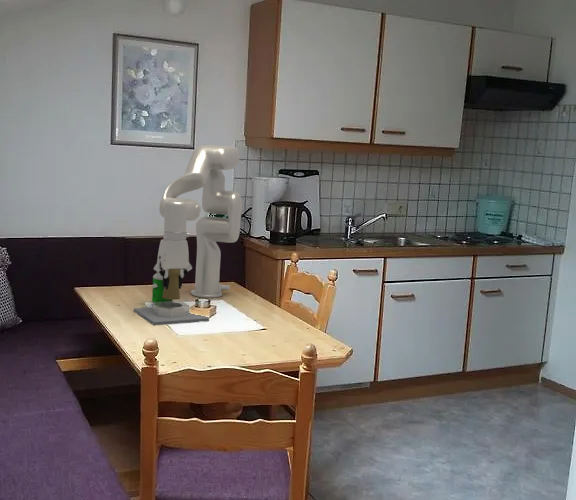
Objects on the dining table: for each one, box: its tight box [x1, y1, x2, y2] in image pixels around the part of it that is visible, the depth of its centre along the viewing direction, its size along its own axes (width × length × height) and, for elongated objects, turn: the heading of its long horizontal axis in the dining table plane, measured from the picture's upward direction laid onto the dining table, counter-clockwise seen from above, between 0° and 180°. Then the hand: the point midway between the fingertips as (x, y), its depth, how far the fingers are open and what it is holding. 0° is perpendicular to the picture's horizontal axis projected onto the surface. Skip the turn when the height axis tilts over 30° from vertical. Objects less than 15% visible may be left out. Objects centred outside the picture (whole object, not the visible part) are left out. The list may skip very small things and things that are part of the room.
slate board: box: [133, 306, 210, 326], centre depth 248 cm, size 20×20×1 cm
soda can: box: [151, 271, 174, 305], centre depth 263 cm, size 8×8×12 cm
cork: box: [162, 269, 181, 301], centre depth 247 cm, size 6×6×11 cm
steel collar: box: [152, 300, 190, 318], centre depth 248 cm, size 12×12×3 cm
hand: (172, 288), depth 247 cm, fingers closed on cork, 3 cm apart
